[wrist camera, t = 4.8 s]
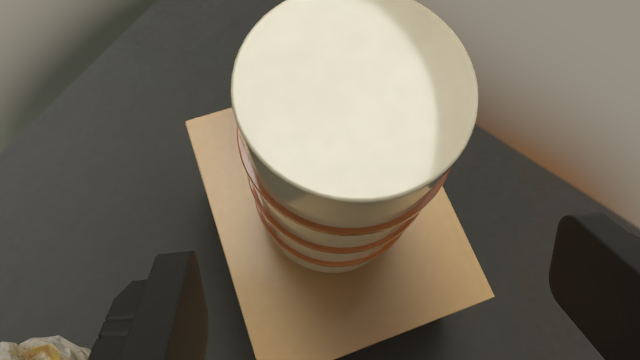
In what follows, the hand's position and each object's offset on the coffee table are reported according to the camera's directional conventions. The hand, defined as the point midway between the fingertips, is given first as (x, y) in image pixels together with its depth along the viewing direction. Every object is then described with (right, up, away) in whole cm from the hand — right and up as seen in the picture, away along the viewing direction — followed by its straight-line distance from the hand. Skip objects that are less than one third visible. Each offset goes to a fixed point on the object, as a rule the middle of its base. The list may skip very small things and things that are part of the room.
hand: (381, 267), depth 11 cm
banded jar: (-1, +1, +10) cm, 10 cm away
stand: (-1, -2, +18) cm, 18 cm away
